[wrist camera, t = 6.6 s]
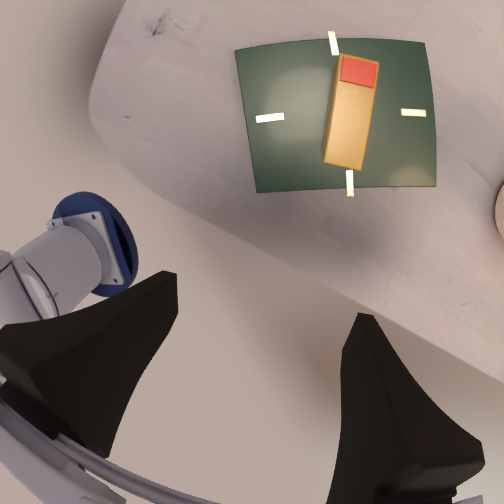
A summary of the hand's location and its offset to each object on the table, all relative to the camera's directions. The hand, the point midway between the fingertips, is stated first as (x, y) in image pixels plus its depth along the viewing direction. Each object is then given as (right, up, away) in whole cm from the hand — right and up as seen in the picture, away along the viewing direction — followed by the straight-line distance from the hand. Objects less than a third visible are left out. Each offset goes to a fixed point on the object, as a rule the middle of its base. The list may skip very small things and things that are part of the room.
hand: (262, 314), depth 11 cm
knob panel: (+5, +11, +4) cm, 12 cm away
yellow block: (+4, +9, +2) cm, 10 cm away
